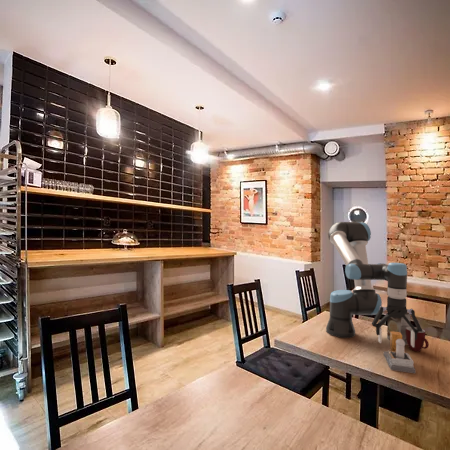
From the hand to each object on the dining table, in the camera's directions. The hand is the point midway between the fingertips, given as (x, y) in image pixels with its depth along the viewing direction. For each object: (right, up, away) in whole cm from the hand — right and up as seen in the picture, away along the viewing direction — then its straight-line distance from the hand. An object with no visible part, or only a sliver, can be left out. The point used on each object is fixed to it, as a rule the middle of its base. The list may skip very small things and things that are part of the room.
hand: (395, 344), depth 132 cm
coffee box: (+13, -7, +19) cm, 24 cm away
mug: (+15, -7, +8) cm, 19 cm away
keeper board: (-2, -7, -5) cm, 8 cm away
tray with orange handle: (-2, -5, -4) cm, 7 cm away
